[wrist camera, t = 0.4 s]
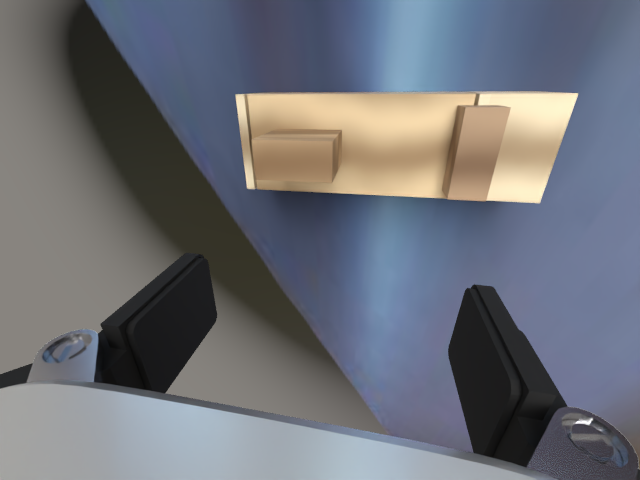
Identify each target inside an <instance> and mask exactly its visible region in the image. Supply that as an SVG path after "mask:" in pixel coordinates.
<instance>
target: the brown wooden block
mask: <svg viewBox="0 0 640 480" xmlns="http://www.w3.org/2000/svg"><path fill="white" fill-rule="evenodd" d="M510 109H511V107H506V106H500V105H458V107H457V112H456V117H455V123H454V128H453V133H452V139H451V144H450V149H449V155H448V160H447V165H446V170H445V176H444V181H443V186H442V191H443V193H444V195H445V196H446V198H447V199H450V200H471V201H486V200H487V196H488V192H489V188H490V185H491V181H492V177H493V173H494V169H495V166H496V162H497V158H498V154H499V151H500V147H501V143H502V139H503V135H504V132H505V128H506V124H507V120H508V117H509V113H510Z"/></svg>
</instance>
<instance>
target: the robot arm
mask: <svg viewBox="0 0 640 480" xmlns="http://www.w3.org/2000/svg"><path fill="white" fill-rule="evenodd" d="M216 318H217V311H216V306H215V301H214V294H213V288H212V283H211V277H210V271H209V265H208V261H207V260H206V259H204V257H203V256H202V255H201V254H193V253H185V254H184V255H183V256H181V257H180V258H179V259H178V260H177V261H175V262H174V263H173V264H172V265H171V266H169V267H168V268H167V269H166V270H165V271H163V272H162V273H161V274H160V275H159V276H157V277H156V278H155V279H154V280H153V281H151V282H150V283H149V284H148V285H147V286H145V287H144V288H143V289H142V290H141V291H139V292H138V293H137V294H136V295H135V296H133V297H132V298H131V299H130V300H129V301H127V302H126V303H125V304H124V305H123V306H122V307H120V308H119V309H118V310H117V311H115V312H114V313H113V314H112V315H111V316H109V317H108V318H107V319H106V320H105V321H104V322H102V323H101V327H102V329H103V330H102V331H101V332H100V333H98V334H97V333H96V332H95V331H93V330H89V329H80V330H75V331H71V332H68V333H65V334H63V335H60V336H58V337H56V338H54V339H53V340H51V341H50V342H48V343H47V344H45V345H44V346H43V347H42V348H41V349H40V350H39V351H38V353H37V355H36V356H35V359H34V362H33V363H32V364H29V365H26V366H23V367H20V368H18V369H15V370H12V371H9V372H6V373H3V374H0V480H640V470H639V469H638V468H639V463H638V457H637V454H636V452H635V450H634V448H633V446H632V445H631V444H630V443H629V441H628V440H627V439H626V438H625V436H624V435H623V434H621V433H620V432H619V431H618V430H617V429H616V428H615V427H614V426H613V425H611V424H610V423H608V422H607V421H605V420H604V419H602V418H601V417H599V416H597V415H595V414H593V413H591V412H589V411H586V410H583V409H580V408H576V407H568V406H567V405H566V403H565V401H564V400H563V398H562V396H561V395H560V393H559V391H558V390H557V388H556V386H555V385H554V383H553V381H552V380H551V378H550V376H549V374H548V373H547V371H546V369H545V368H544V366H543V364H542V363H541V361H540V359H539V358H538V356H537V354H536V353H535V351H534V349H533V348H532V346H531V344H530V343H529V341H528V339H527V338H526V336H525V335H524V333H523V332H522V331H520V330H518V328H517V326H516V325H515V323H514V321H513V319H512V318H511V316H510V314H509V313H508V311H507V309H506V307H505V306H504V304H503V302H502V301H501V299H500V297H499V295H498V294H497V292H496V290H495V289H494V288H493V287H491V286H482V285H473V286H472V287H471V289H470V288H467V289H466V290H465V293H464V296H463V300H462V303H461V307H460V310H459V313H458V317H457V320H456V324H455V327H454V331H453V334H452V338H451V341H450V344H449V349H448V355H449V360H450V364H451V368H452V371H453V375H454V379H455V383H456V387H457V391H458V394H459V398H460V402H461V406H462V410H463V413H464V417H465V421H466V425H467V429H468V432H469V436H470V440H471V444H472V448H473V452H474V453H471V452H466V451H461V450H457V449H452V448H447V447H442V446H438V445H433V444H428V443H423V442H419V441H414V440H409V439H404V438H398V437H393V436H388V435H382V434H378V433H373V432H367V431H362V430H357V429H352V428H347V427H342V426H336V425H332V424H326V423H321V422H316V421H311V420H305V419H300V418H294V417H290V416H284V415H279V414H274V413H268V412H263V411H258V410H252V409H246V408H242V407H236V406H231V405H225V404H220V403H214V402H209V401H204V400H198V399H193V398H187V397H182V396H176V395H171V394H165V393H166V391H167V390H168V388H169V387H170V385H171V384H172V383H173V381H174V380H175V379H176V377H177V376H178V374H179V373H180V371H181V370H182V369H183V367H184V366H185V364H186V363H187V361H188V360H189V359H190V357H191V356H192V354H193V353H194V351H195V350H196V349H197V348H198V346H199V345H200V343H201V342H202V340H203V339H204V338H205V336H206V335H207V333H208V332H209V331H210V329H211V328H212V326H213V325H214V323H215V322H216Z"/></svg>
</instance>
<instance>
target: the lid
mask: <svg viewBox="0 0 640 480" xmlns="http://www.w3.org/2000/svg"><path fill="white" fill-rule="evenodd" d="M247 97H248V106H249V115H250V124H251V134H252V140H251V141H252V150H253V160H254V169H255V178H256V180H257V189H262V190H282V191H303V192H323V193H344V194H364V195H385V196H405V197H426V198H446V196H445V195H444V193H443V191H442V186H443V181H444V176H445V170H446V165H447V160H448V155H449V149H450V144H451V139H452V133H453V128H454V123H455V117H456V112H457V107H458V105H474V101H475V97H476V94H473V93H443V94H249V95H247ZM446 199H447V198H446Z"/></svg>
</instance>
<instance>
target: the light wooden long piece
mask: <svg viewBox="0 0 640 480" xmlns="http://www.w3.org/2000/svg"><path fill="white" fill-rule="evenodd" d="M443 93H473V94H476V97H475V101H474V105H500V106H506V107H511V109H510V113H509V117H508V120H507V124H506V128H505V132H504V135H503V139H502V143H501V147H500V151H499V154H498V158H497V162H496V166H495V169H494V173H493V177H492V181H491V185H490V188H489V192H488V196H487V201H507V202H528V203H540V201H541V198H542V195H543V192H544V189H545V187H546V184H547V181H548V178H549V175H550V172H551V170H552V167H553V164H554V161H555V158H556V155H557V153H558V150H559V147H560V144H561V141H562V139H563V136H564V133H565V130H566V127H567V124H568V122H569V119H570V116H571V113H572V110H573V107H574V105H575V102H576V99H577V96H578V93H558V92H538V91H491V92H269V93H250V94H443ZM247 95H249V94H237V95H236V103H237V111H238V119H239V127H240V135H241V143H242V151H243V159H244V167H245V175H246V183H247V189H255V188H257V180H256V178H255V169H254V160H253V150H252V141H251V140H252V134H251V124H250V115H249V106H248V97H247Z"/></svg>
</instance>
